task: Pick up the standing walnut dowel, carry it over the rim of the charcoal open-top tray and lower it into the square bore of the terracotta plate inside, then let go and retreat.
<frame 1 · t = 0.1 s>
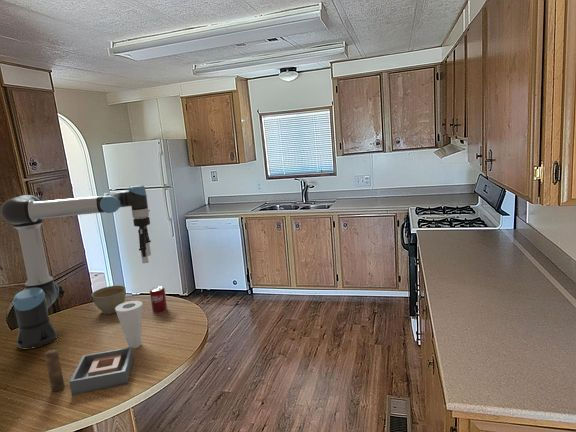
hand: (146, 259, 195), 28 cm above the table, fingers open, 13 cm apart
peg: (58, 388, 139), on the table
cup: (135, 345, 167), on the table
soda can: (160, 311, 201), on the table
planter bowl: (111, 310, 206), on the table
box: (105, 375, 146), on the table
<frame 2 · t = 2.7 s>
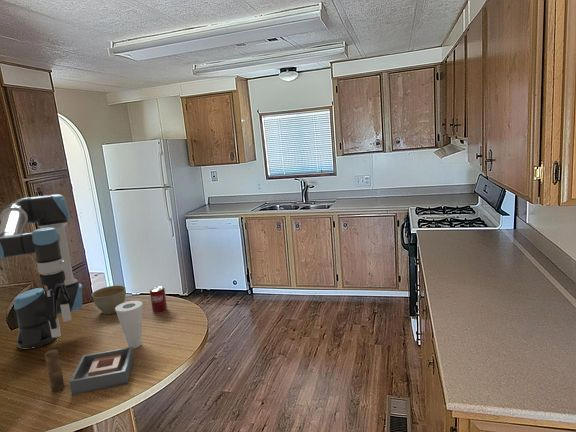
hand: (62, 328, 141), 20 cm above the table, fingers open, 13 cm apart
nothing on the table moved.
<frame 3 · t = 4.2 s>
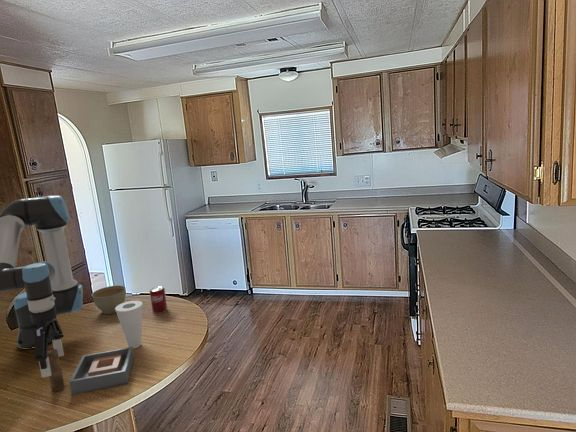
hand: (53, 365, 137), 9 cm above the table, fingers open, 13 cm apart
nothing on the table moved.
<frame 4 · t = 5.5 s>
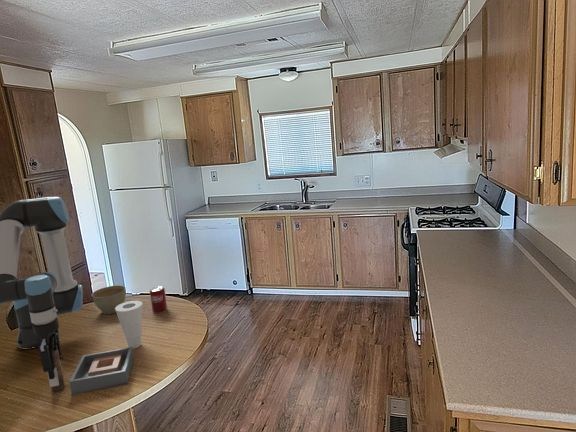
hand: (56, 381, 139), 3 cm above the table, fingers closed on peg, 4 cm apart
peg: (58, 388, 139), on the table, touching gripper
everything else where it was.
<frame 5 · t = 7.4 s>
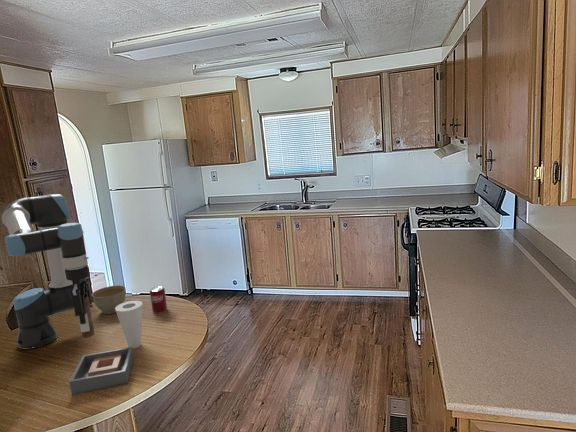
hand: (87, 328, 143), 19 cm above the table, fingers closed on peg, 4 cm apart
peg: (88, 335, 143), point 16 cm above the table, touching gripper
everything else where it was.
when the fingers open (4 cm above the table, at t = 9.7 s): peg stays where it is, resting on box.
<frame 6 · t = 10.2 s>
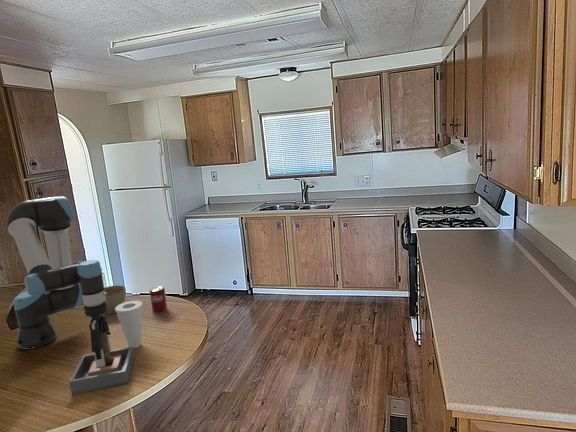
hand: (104, 359, 147), 5 cm above the table, fingers open, 10 cm apart
peg: (106, 368, 148), point 1 cm above the table, touching box
everything else where it was.
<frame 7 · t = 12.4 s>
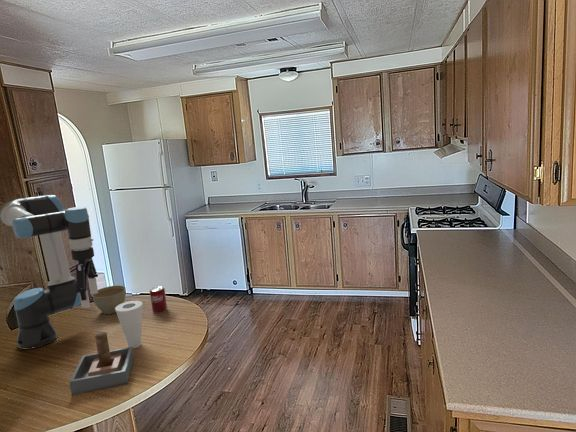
hand: (90, 300, 153), 25 cm above the table, fingers open, 13 cm apart
nothing on the table moved.
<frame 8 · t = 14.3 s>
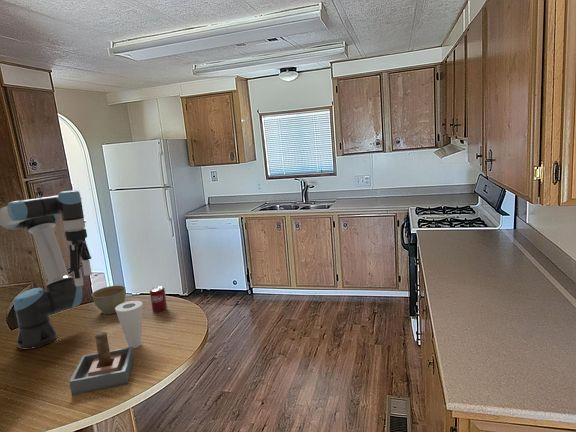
hand: (84, 280, 160), 31 cm above the table, fingers open, 13 cm apart
nothing on the table moved.
at the end: peg 0.0 cm from the target spot on the box, point 0.8 cm above the box's base; peg tilted 0°; the gripper is holding nothing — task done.
